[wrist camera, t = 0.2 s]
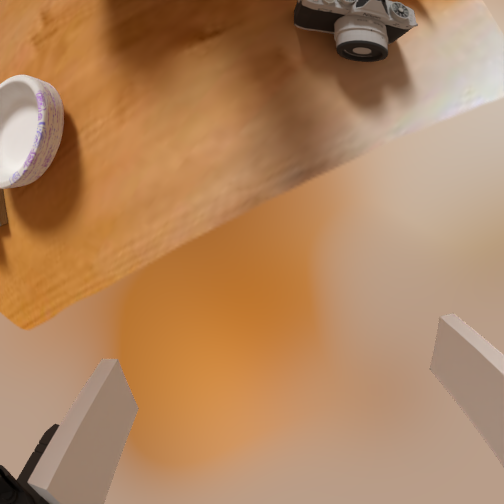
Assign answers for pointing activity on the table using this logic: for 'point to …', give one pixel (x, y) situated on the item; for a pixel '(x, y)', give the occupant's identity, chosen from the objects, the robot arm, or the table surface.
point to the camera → (357, 24)
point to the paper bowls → (28, 129)
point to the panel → (2, 209)
